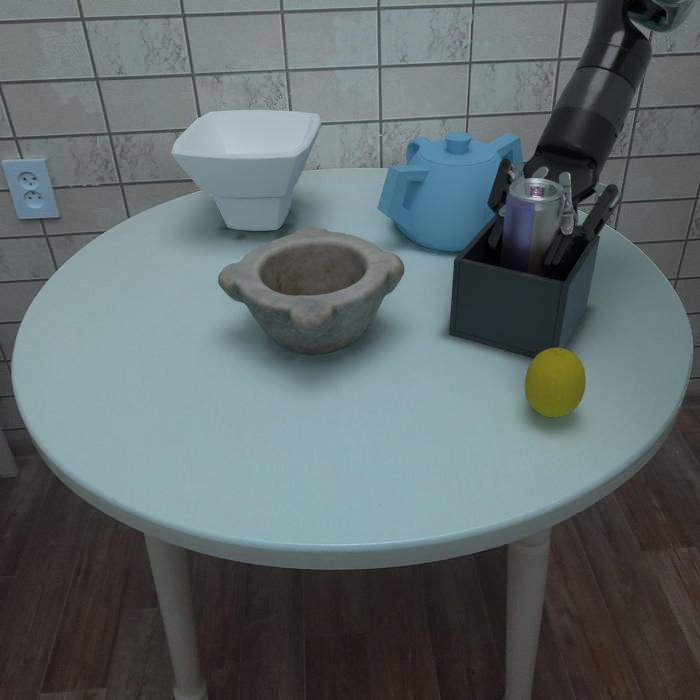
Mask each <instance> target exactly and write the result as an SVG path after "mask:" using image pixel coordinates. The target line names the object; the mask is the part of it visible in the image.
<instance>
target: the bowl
mask: <svg viewBox="0 0 700 700" xmlns="http://www.w3.org/2000/svg"><path fill="white" fill-rule="evenodd" d="M321 128H322V121H321V116H320V114H318V113H316V112H315V113H314V112H305V111H295V110H278V109H277V110H276V109H233V110H232V109H231V110H229V109H228V110H216V111H215V110H213V111H209V112H206V113H205V114H203V115H201V116H200V117H198V118H197V119H195V120H194V121H193V122H192V123H191V124H190V125H189V126H188V127H187V128H185V130H184V131H183V132H182V133H181V134H180V135H179V137H177V139H176V140H175V141H174V142H173V145H172V148H171V151H170V153H171V156H172V158H173V159H174V160H175V161H176V163H178V165H179V166H180V167H181V168H182V169H183V171H184V172H185V173H186V174H187V175H188V177H189V178H190V179H191V180H192V181H193V183H194V184H195V185H196V186H197V187H198V188H199V190H200V191H201V192H202V194H203V195H204V194H205V195H210V196H212V198H213V200H214V202H215V204H216V206H217V208H218V210H219V212H220V215H221V217H222V219H223V222H224V223H225V226H226V227H227V228H228V229H232V230H237V231H248V232H249V231H250V232H269V231H278V230H279V229H280V228H281V227H283V225H284V223H285V221H286V219H287V218H288V215H289V213H290V210H291V204H292V199H293V193H294V189H295V186H296V185H297V183H298V181H299V179H300V177H301V175H302V173H303V172H304V168H305V166H306V164H307V161H308V159H309V156H310V154H311V152H312V150H313V147H314V144H315V142H316V140H317V138H318V135H319V133H320V130H321Z"/></svg>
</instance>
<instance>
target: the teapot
mask: <svg viewBox="0 0 700 700" xmlns="http://www.w3.org/2000/svg"><path fill="white" fill-rule="evenodd" d="M472 138H473V136H472V135H471V134H470V133H468V132H465V131H451V132H448V133H446V134H445V135H444V138H442V139H436V140H431V139H429V138H427V137H423V136H421V137H416V138H413V139H412V140H410V141H409V142H408V143H407V145H406V150H405V157H406V159H405V160H406V161H405V162H406V164H405V165H388V169H387V172H386V176H385V180H384V183H383V187H382V191H381V194H380V197H379V201H378V204H377V207H376V208H377V210H378V211H379V212H381V213H383V214H384V215H385V216H387V217H388V218H389V219H391V220H392V221H393V223H394V224H395V226H396V227H397V228H398V229H399V231H400V232H401V233H402V234H404V236H405V237H407V239H409V240H410V241H411V242H413V243H415V244H417V245H418V246H421V247H424V248H427V249H431V250H435V251H442V252H457V253H458V252H461V251H462V250H463V249H464V248H465V247H466V246H467V245H468V244H469V243H470V242H471V241H472V239H473V238H474V237H475V236H476V235H477V234H478V233H479V232H480V231H481V230H482V229H483V227H484V226H485V225H486V224H487V223H488V222H489V221H490V220H491V219H492V218H493V217H494V216H495V214H494V213H493V211H492V210H491V209H490V208H489V206H488V204H487V202H488V199H489V196H490V193H491V190H492V187H493V184H494V180H495V177H496V174H497V171H498V168H499V165H500V162H501V161H502V160H503V159H505V158H507V159H509V160H510V161H511V163H517V164H524V157H523V150H522V141H521V137H520V136H518V135H515V134H513V133H509V132H506V133H504V134H503V135H501V136H499V137H498V138H496V139H494V140H492V141H490V142H489V143H486V142H484V141H481V140H477V139H472ZM518 180H521V177H520V178H519V179H518Z"/></svg>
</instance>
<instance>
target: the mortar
mask: <svg viewBox="0 0 700 700" xmlns="http://www.w3.org/2000/svg"><path fill="white" fill-rule="evenodd" d="M405 272H406V271H405V264H404V262H403V260H402V259H401V257H400V256H398V255H397V254H395V253H391V252H385V251H384V250H382V249H381V248H380V247H378V246H377V245H376V244H375V243H373V242H371V241H370V240H366V239H364V238H362V237H359V236H355V235H352V234H349V233H343V232H340V231H339V232H337V231H331V230H328V229H326V228H324V227H318V226H317V227H314V226H313V227H312V226H310V227H309V226H307V227H302V228H299V229H297V230H295V232H294V233H292V234H288V235H285V236H281V237H279V238H275V239H273V240H271V241H269V242H267V243H264V244H262V245H261V246H258V247H257V248H256V249H253V250H252V251H250V252H249V253H247V254H245V255H244V257H243V258H242V259H241V260H240V261H239V262H238V261H237V262H234V263H230V264H227V265H226V266H225V267H224V268H223V269H222V270H221V271H220V273H219V274H218V276H217V283H218V285H219V287H220V288H221V290H222V291H223V292H224V293H225V294H226V295H227V296H228V297H229V298H230V299H231V300H233V301H235V302H238V303H242V304H244V305H245V306H246V307H247V309H248V311H249V312H250V314H251V316H252V317H253V318H254V320H255V321H256V322H257V324H258V325H259V326H260V327H261V328H262V330H263V331H264V332H265V333H266V334H267V335H268V337H270V338H271V339H272V340H273V341H274V342H275V343H277V344H278V345H279V346H280V347H282V348H284V349H286V350H288V351H290V352H292V353H297V354H301V355H324V354H328V353H333V352H336V351H340V350H342V349H345V348H346V347H349V346H350V345H352V344H353V343H355V342H356V341H357V340H358V339H359V338H360V337H361V336H362V335H363V334H364V332H365V331H366V330H367V329H368V327H369V326H370V324H371V322H372V321H373V320H374V318H375V316H376V314H377V313H378V311H379V309H380V307H381V306H382V303H383V300H384V299H385V297H386V296H388V295H389V294H391V293H392V292H394V290H396V288H397V286H398V285H399V283H400V281H401V280H402V278H403V276H404V274H405Z"/></svg>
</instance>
